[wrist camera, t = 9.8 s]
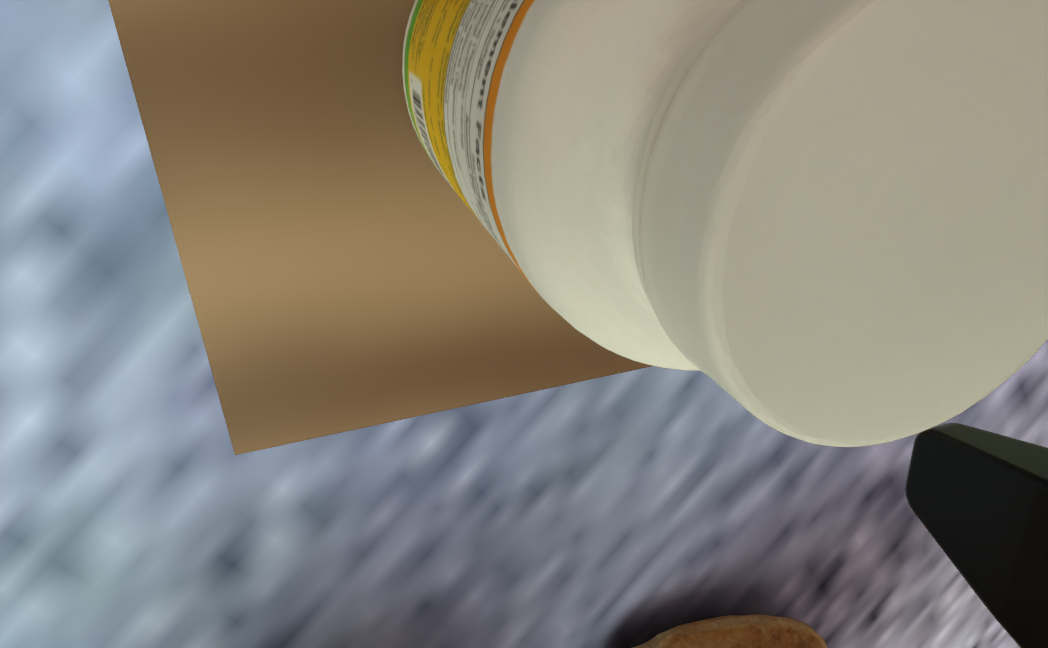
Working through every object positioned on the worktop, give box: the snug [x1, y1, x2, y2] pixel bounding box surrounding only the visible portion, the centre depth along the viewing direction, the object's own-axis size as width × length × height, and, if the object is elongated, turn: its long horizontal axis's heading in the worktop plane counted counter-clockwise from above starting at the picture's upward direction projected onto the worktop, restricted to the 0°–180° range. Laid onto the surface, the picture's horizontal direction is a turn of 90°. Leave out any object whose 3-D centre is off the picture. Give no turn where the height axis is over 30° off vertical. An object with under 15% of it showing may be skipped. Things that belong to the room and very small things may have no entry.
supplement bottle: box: [402, 0, 1048, 447], centre depth 10 cm, size 5×5×10 cm
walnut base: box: [108, 0, 652, 455], centre depth 15 cm, size 14×14×3 cm
